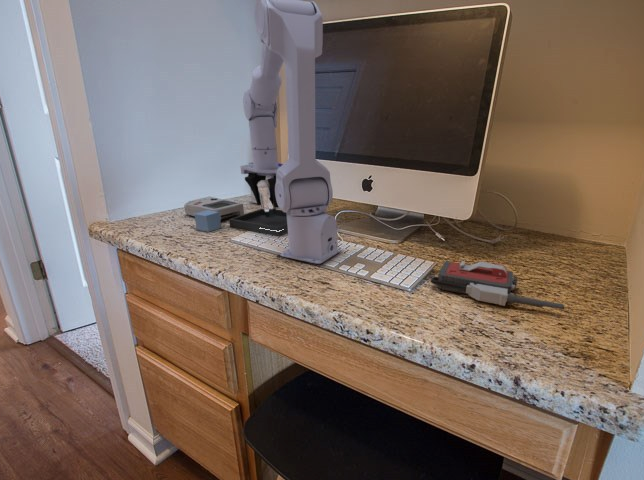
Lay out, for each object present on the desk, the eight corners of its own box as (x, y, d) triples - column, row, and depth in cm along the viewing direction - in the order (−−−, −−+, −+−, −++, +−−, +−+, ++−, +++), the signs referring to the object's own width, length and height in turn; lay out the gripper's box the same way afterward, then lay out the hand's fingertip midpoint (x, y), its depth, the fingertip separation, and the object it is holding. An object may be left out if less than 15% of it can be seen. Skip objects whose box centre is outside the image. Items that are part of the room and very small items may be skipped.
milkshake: (279, 219, 92) (275, 178, 88) (257, 218, 92) (253, 177, 88) (283, 214, 96) (280, 175, 92) (263, 214, 96) (259, 174, 93)
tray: (311, 221, 97) (310, 214, 97) (278, 236, 87) (278, 227, 86) (265, 214, 104) (264, 207, 103) (229, 226, 93) (228, 219, 92)
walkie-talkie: (426, 293, 60) (562, 319, 53) (428, 268, 59) (569, 292, 52) (438, 273, 68) (559, 293, 61) (440, 250, 66) (565, 269, 59)
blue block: (221, 227, 92) (219, 211, 90) (208, 232, 89) (205, 215, 87) (209, 225, 94) (207, 209, 92) (196, 229, 90) (193, 213, 89)
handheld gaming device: (211, 208, 109) (209, 195, 107) (245, 216, 102) (243, 202, 100) (183, 215, 102) (180, 202, 101) (217, 224, 95) (214, 209, 93)
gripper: (299, 148, 88) (303, 205, 93) (252, 145, 94) (258, 198, 99) (280, 151, 82) (285, 211, 88) (231, 148, 88) (238, 204, 93)
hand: (269, 205), depth 93 cm, fingers closed on milkshake, 5 cm apart
